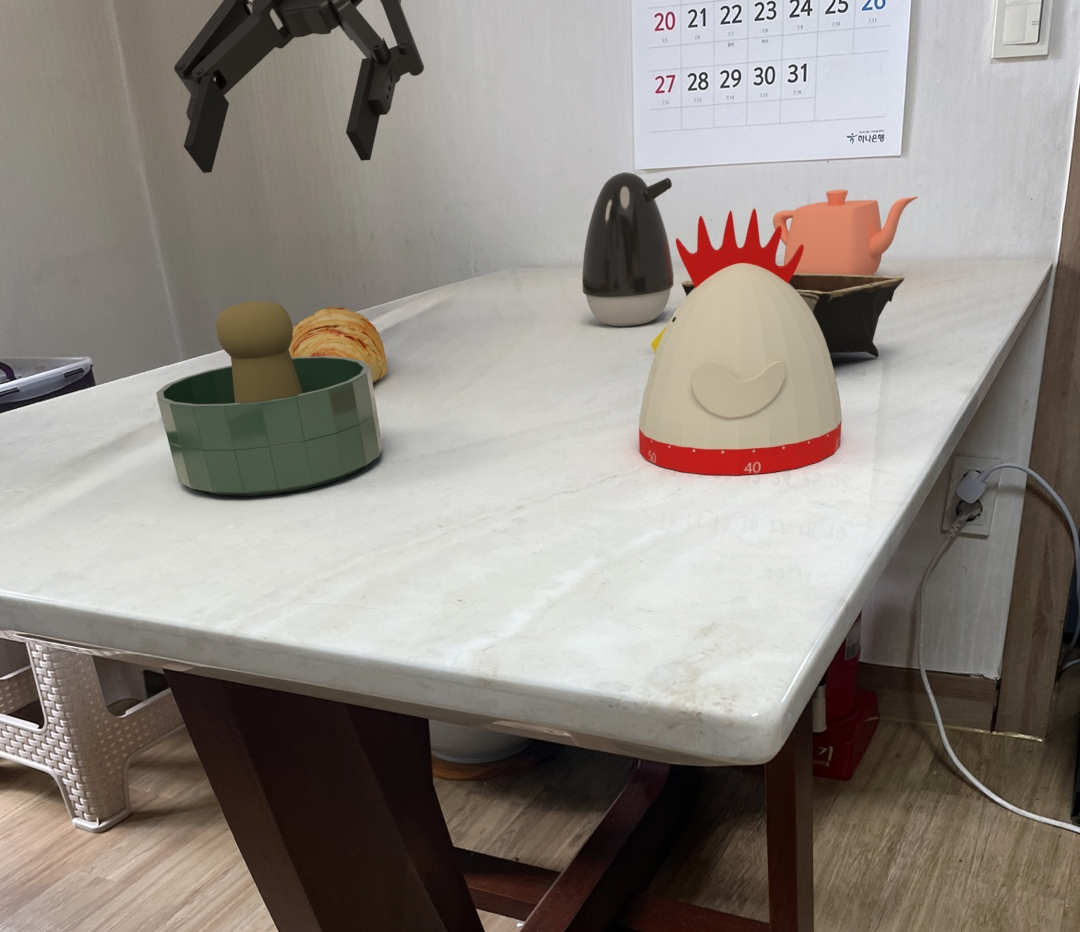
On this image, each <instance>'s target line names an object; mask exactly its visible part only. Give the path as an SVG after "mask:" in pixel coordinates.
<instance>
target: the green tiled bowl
mask: <svg viewBox="0 0 1080 932" xmlns="http://www.w3.org/2000/svg"><path fill="white" fill-rule="evenodd" d="M292 361H293V364H294V367H295V371H296V374H297V377H298V380H299V383H300V386H301V389H302V392H303V394H299V395H294V396H288V397H282V398H276V399H269V400H263V401H254V402H243V403H235V396H234V386H233V375H232V364H230V365H227V366H223V367H217V368H213V369H209V370H205V371H204V370H203V371H201V372H197V373H194V374H191V375H187V376H184V377H181V378H178V379H176V380H174V381H172V382H169V383H166V384H165V385H164V386H162V387H161V388H160V389H159V390H157V391H156V393H155V394H156V400H157V404H158V407H159V411H160V415H161V420H162V424H163V427H164V430H165V434H166V438H167V442H168V445H169V450H170V453H171V457H172V461H173V466H174V468H175V473H176V476H177V480H178V482H179V483H180V484H182V485H184V486H186V487H188V488H190V489H192V490H198V491H203V492H206V493H209V494H214V495H219V496H228V497H257V496H271V495H280V494H285V493H292V492H299V491H303V490H307V489H312V488H317V487H321V486H323V485H328V484H330V483H333V482H336V481H339V480H341V479H344V478H347V477H348V476H351V475H352V474H355V473H356V472H358V471H359V470H361V469H363V467H365V466H367V465H369V464H370V463H372V461H374V460H375V459H377V458H378V457H380V455H381V452H382V449H383V440H382V439H383V438H382V434H381V427H380V421H379V414H378V408H377V401H376V395H375V390H374V389H375V388H374V382H372V375H371V369H370V366H369V365H367V364H366V363H365V362H364V361H360V360H356V359H351V358H346V357H329V356H317V357H293V358H292Z"/></svg>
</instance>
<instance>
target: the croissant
mask: <svg viewBox="0 0 1080 932" xmlns="http://www.w3.org/2000/svg"><path fill="white" fill-rule="evenodd" d="M292 327H293V337H292V342H291V345H290V347H289V352H290V355H291V358H293V357H317V356H329V357H346V358H351V359H356V360H360V361H364V362H365V363H366V364H367V365H369V366H370V369H371V375H372V382H373V383H375V382H377V381H378V380H379V379H383V378H384V376H385V375H386V374H387V372H388V371H387V369H388V366H387V358H386V351H385V346H384V342H383V339H382V338H381V336H380V333H379V330H378V329H377V328H376V327H375V325H374V324H373V323H372V322H371V321H370V320H369V318H367V317H365V316H364V315H362V314H361V313H359V312H356V311H352V310H349V309H346V308H345V307H338V306H336V307H335V306H334V307H332V306H331V307H326V308H323V309H319V310H317V311H315V312H314V314H311V315H309V316H307V317H305V318H304V319H302V320H300V321H299V322H297V323H295V325H293V326H292Z"/></svg>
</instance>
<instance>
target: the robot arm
mask: <svg viewBox="0 0 1080 932" xmlns="http://www.w3.org/2000/svg"><path fill="white" fill-rule="evenodd" d="M363 1H364V0H223V1H221V3H220V5H219V6H218V7H217V8H216V10H215V12H214V13H213V14H212V15H211V16H210V18H209V19H208V21H207V22H206V23H205V25H204V26H203V27H202V28H201V30H200V31H199V32H198V34H197V35H196V37H195V38H194V39H193V40H192V42H191V43H190V45H189V46H188V47H187V48H186V50H185V51H184V52H183V54H182V55H181V56H180V58H179V59H178V60H177V61H176V63H175V65H174V67H173V70H174V72H175V73H176V75H177V77H178V78H179V80H180V82H182V84H183V85H184V87H185V88H186V90H187V91H188V93H189V94H190V97H189V101H188V105H187V108H186V117H187V120H189V123H188V124H189V126H188V127H187V132H186V136H185V140H184V143H183V148H184V149H185V150H186V152H187V153H188V154H189V156H190V157H191V159H192V161H194V163H195V164H196V166H197V167H198V168H199V169H200V171H201V172H202V174H207V173H208V174H209V173H212V172H213V168H214V164H215V160H216V156H217V152H218V149H219V145H220V142H221V141H220V140H221V137H222V133H223V129H224V125H225V121H226V118H227V113H228V110H229V105H230V102H229V101H228V100H227V98H226V94H228V93H229V92H230V91H231V90H232V89H233V88H234V87H235V86H236V85H237V84H238V83H239V82H240V81H241V80H243V79H244V78H245V77H246V76H247V75H248V74H249V73H250V72H251V71H252V70H253V69H254V68H255V67H256V66H257V65H258V64H259V63H260V62H262V60H263V59H265V57H267V55H269V54H270V53H271V52H273V50H274V49H275V48H277V49H280V50H281V49H284V48H285V47H286V46H288V44H289V43H290V42H291V41H292V40H293V39H295V38H304V37H308V36H310V35H313V34H314V35H330V34H331V33H332V31H333V30H335V29H336V28H338V27H339V28H340V29H341V30H342V32H343V33H344V34H345V35H346V37H347V38H348V39H349V41H352V42H353V43H354V45H356V47H357V48H358V49H359V50H360V52H361V53H362V54H363V56H364V58H361V62H360V67H359V71H358V77H357V79H356V85H355V89H354V94H353V99H352V103H351V107H350V111H349V117H348V120H347V125H346V129H345V133H346V135H347V138H348V140H349V141H350V144H352V147H353V149H354V150H355V152H356V154H357V156H358V158H359V159H360V161H361V162H362V161H371V160H372V159H371V158H372V154H373V149H374V145H375V138H376V135H377V131H378V126H379V122H380V116H387V115H388V114H389V112H390V111H391V107H392V104H393V103H392V102H393V99H394V94H395V89H396V84H398V83H399V82H400V80H401V77H402V76H404V75H407V74H410V76H412V77H416V76H420V75H421V74H422V73H423V72H424V69H425V65H424V63H423V59H422V57H421V54H420V52H419V49H418V47H417V44H416V41H415V39H414V36H413V33H412V31H411V28H410V26H409V22H408V20H407V17H406V15H405V12H404V9H403V6H402V0H379V3H380V4H381V5H382V8H383V11H384V12H385V15H386V18H387V22H388V23H389V26H390V29H391V31H392V34H393V38H394V40H395V43H396V45H395V46H392V47H390V48H389V47H388V43H387V42H386V39H385V37H383V38H381V36H380V35H379V34H378V33H377V32H376V30H375V29H374V28H373V27H372V25H371V24H370V23H369V22H368V21H367V20H366V18H365V17H364V15H362V13H361V12H360V11H359V10H358V8H357V7H358V6H359V5H360V4H362V2H363ZM272 10H273V12H274V14H275V15H276V17H277V19H278V20H279V22H280V24H281V27H280V28H278V27H277V25H276V24H275V22H274V20H273V18H272V16H271V12H272ZM214 79H215V80H214Z"/></svg>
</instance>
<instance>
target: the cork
mask: <svg viewBox="0 0 1080 932" xmlns="http://www.w3.org/2000/svg"><path fill="white" fill-rule="evenodd" d="M293 327H294V326H293V323H292V319H291V316H290V314H289V312H288V311H287V310H286V309H285V307H284V306H283V305H281V304H279V303H277V302H274V301H273V302H272V301H265V300H264V301H263V300H252V301H251V300H250V301H245V302H239V303H237V304H233V305H231V306H229V307H226V308H223V310H221V311H220V312H219V314H218V317H217V319H216V335H217V340H218V342H219V345H220V346H221V349H222V350H223V351H225V353H226V354H227V355H228V356H229V357H230V363H231V364H230V365H232V375H233V386H234V396H235V403H243V402H254V401H263V400H269V399H276V398H282V397H288V396H294V395H299V394H303V392H302V389H301V386H300V383H299V380H298V377H297V374H296V371H295V367H294V364H293V361H292V358H291V355H290V352H289V347H290V345H291V342H292V337H293Z"/></svg>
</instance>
